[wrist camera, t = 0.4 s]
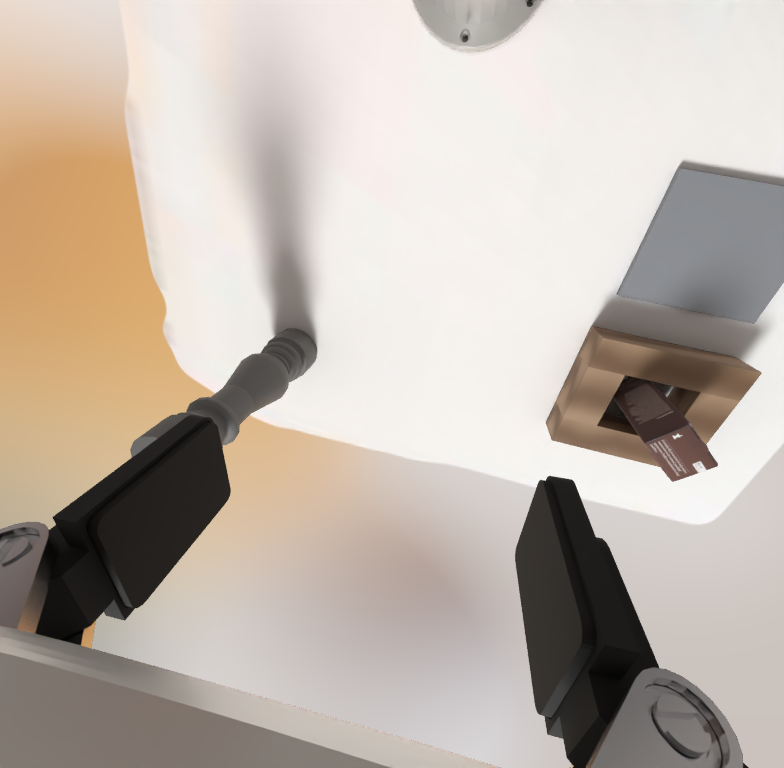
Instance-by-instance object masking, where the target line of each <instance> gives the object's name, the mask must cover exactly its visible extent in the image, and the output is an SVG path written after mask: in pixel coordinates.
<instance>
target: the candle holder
mask: <svg viewBox="0 0 784 768" xmlns="http://www.w3.org/2000/svg"><path fill="white" fill-rule="evenodd" d="M316 356H317V350H316V346H315V343H314V342H313V340H312V339H311V337H310V336H309V335H307V334H306V333H305V332H303V331H301V330H298V329H286V330H285V331H283V332H281V333H280V334H278V335H277V336H276V337H274V338H273V339H271V340H270V341H269V342H268V344H267V345H266V346H265V347H264V349H263V350H262V352H261V353H260V354H252V355H250V356H248V357H247V358H245V359H244V360H242V361H241V363H240V364H239V366H238V367H237V369H236V370H235V372H234V373H233V374H232V376H231V377H230V379H229V380H228V382H227V383H226V385H225V386H224V387H223V388H222V389H221V390H220V391H219V392H217V393H216V394H215V395H213V396H212V397H206V398H199V399H197V400H195V401H194V402H192V403H190V405H189V407H188V409H187V412H186V413H179V414H177V415H171V416H169V417H167V418H166V419H164V420H163V421H161V422H160V423H159V424H157V425H156V426H154V427H153V428H151V429H150V430H149V431H147V432H146V433H145V434H143V435H142V436H140V437H139V438H138V439H136V440H135V441H134V442H133V445H132V447H131V455H132V457H134V456H135V455H136V454H138V453H139V452H140V451H142V450H143V449H144V448H146V447H147V446H148V445H150V444H151V443H152V442H154V441H155V440H156V439H158V438H159V437H160V436H162V435H163V434H164V433H166V432H167V431H168V430H170V429H171V428H172V427H174V426H175V425H176V424H178V423H179V422H180V421H182V420H183V419H184V418H186V417H187V416H189V415H198V416H203V417H209V418H211V419H212V420H213V421H214V423H215V424H216V425H217V426H218V430H219V434H220V439H221V444H222V448H223V445H227V444H229V443H231V442H233V441H234V440H235V438H236V437H237V435H238V433H239V425H240V424H241V423H242V422H243V421H244V420H245V419H246V418H247V417H248V416H249V415H250V414H251V413H253V412H255V411H257V410H259V409H260V408H262V407H264V406H266V405H268V404H270V403H272V402H274V401H276V400H278V399H280V398H281V397H282V396H283V395H284V393H285V392H286V390H287V388H288V384H289V382H291V381H293V380H295V379H297V378H298V377H300V376H302V375H303V374H304V373H305V372H306V371H307V370H308V369H309V368H310V367H311V366H312V364H313V363H314V362H315V360H316Z"/></svg>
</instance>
